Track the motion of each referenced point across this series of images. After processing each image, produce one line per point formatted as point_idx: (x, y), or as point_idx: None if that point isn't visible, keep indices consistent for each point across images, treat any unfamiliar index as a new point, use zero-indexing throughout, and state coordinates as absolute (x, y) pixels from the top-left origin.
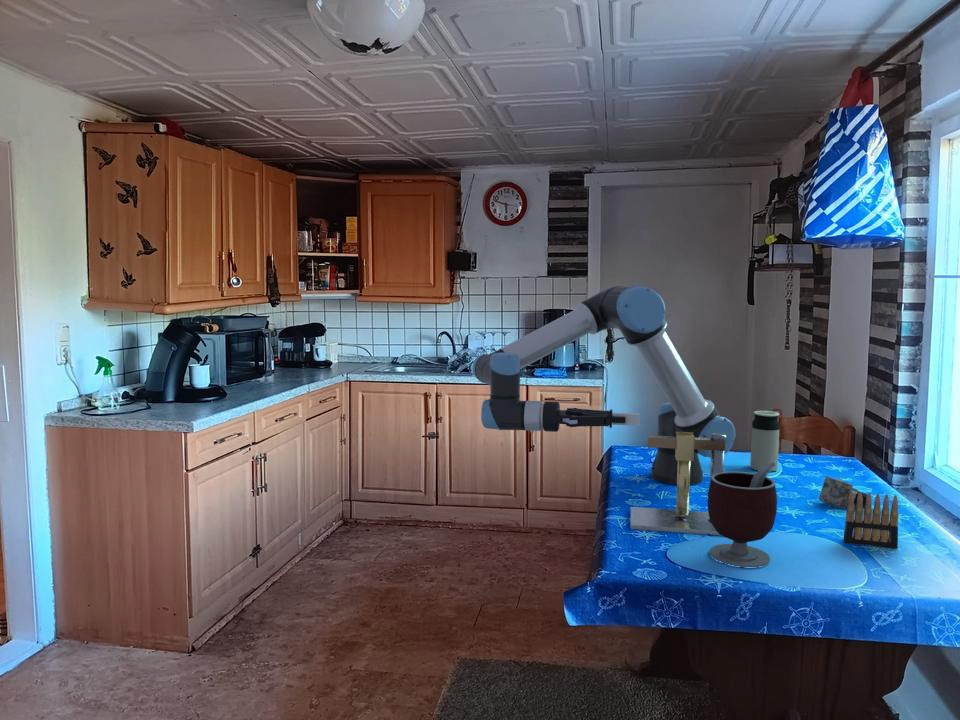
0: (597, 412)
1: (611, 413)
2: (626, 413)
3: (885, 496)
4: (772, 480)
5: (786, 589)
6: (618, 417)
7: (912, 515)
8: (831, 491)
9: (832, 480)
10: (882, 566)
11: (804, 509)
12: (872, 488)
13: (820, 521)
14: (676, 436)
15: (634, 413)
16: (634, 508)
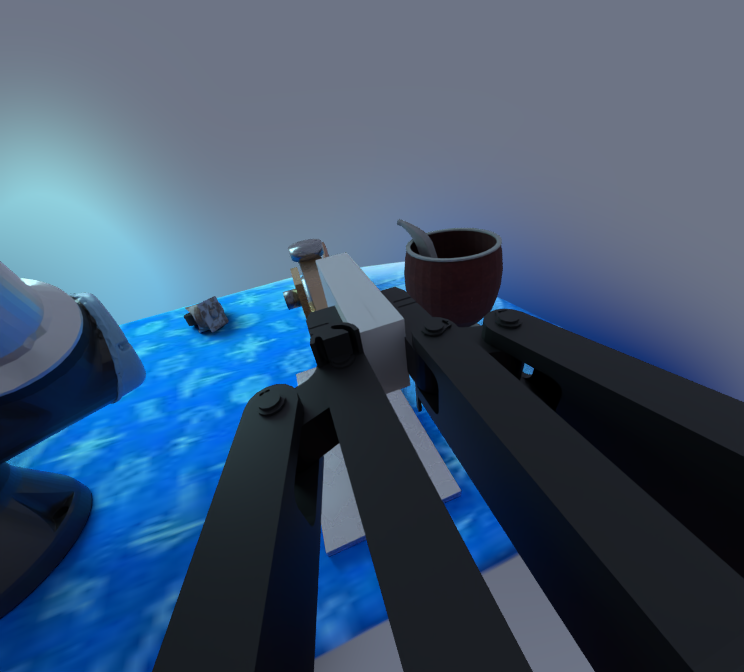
0: (396, 464)
1: (353, 349)
2: (345, 282)
3: (324, 246)
4: (426, 233)
5: (497, 299)
6: (418, 304)
7: (241, 293)
8: (212, 315)
9: (203, 304)
10: (385, 282)
11: (238, 340)
12: (149, 322)
13: (280, 324)
14: (305, 294)
15: (324, 268)
16: (336, 536)
